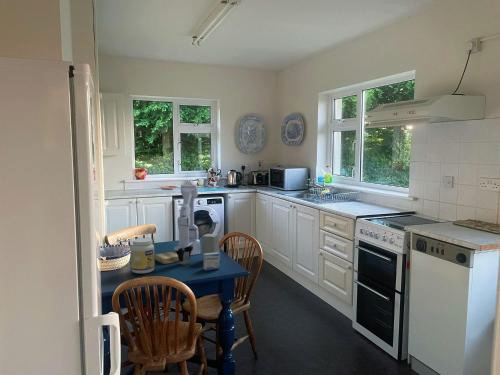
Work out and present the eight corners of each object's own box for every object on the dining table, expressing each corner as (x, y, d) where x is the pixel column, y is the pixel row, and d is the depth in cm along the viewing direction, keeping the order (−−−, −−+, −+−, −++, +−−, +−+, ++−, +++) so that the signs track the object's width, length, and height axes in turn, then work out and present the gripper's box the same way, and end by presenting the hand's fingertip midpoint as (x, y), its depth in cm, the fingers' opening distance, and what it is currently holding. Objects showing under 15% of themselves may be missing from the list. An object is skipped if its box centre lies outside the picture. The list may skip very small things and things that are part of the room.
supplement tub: (148, 274, 198) (148, 243, 197) (127, 273, 201) (126, 242, 199) (158, 267, 210) (157, 237, 209) (138, 266, 213) (137, 237, 211)
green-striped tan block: (173, 256, 234) (173, 251, 234) (182, 260, 225) (182, 255, 224) (155, 259, 227) (154, 254, 226) (163, 264, 217) (163, 259, 217)
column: (185, 262, 222) (185, 250, 221) (189, 263, 218) (189, 251, 218) (179, 263, 219) (179, 251, 219) (183, 264, 216) (182, 252, 215)
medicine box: (205, 270, 205) (205, 255, 205) (203, 268, 209) (203, 253, 209) (219, 269, 209) (219, 253, 208) (216, 266, 213) (216, 251, 212)
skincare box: (220, 260, 226) (220, 234, 224) (214, 263, 219) (214, 236, 218) (208, 258, 229) (207, 232, 228) (201, 261, 223) (201, 235, 221)
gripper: (186, 234, 226) (187, 256, 227) (170, 238, 213) (170, 262, 214) (196, 235, 222) (196, 258, 223) (179, 240, 210) (180, 264, 211)
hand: (184, 260), depth 219 cm, fingers closed on column, 5 cm apart
